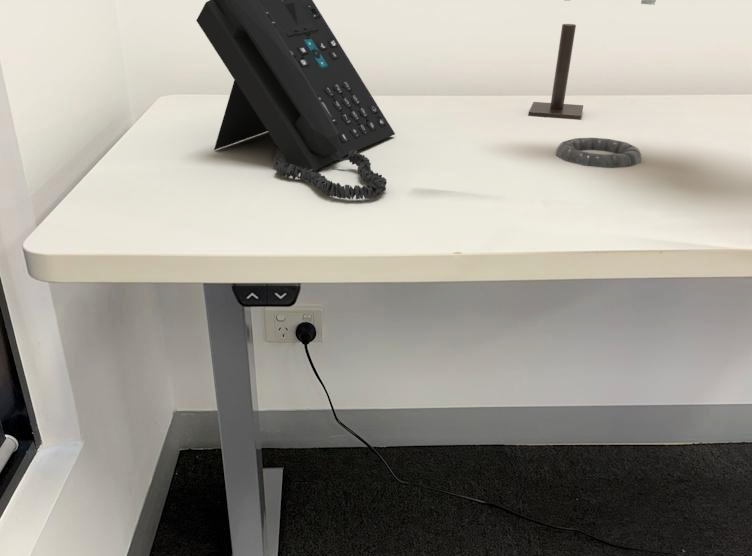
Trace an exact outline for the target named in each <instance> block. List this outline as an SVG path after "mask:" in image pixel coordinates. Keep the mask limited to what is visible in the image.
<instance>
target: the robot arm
mask: <svg viewBox="0 0 752 556" xmlns="http://www.w3.org/2000/svg"><path fill="white" fill-rule="evenodd" d="M565 1H571V0H565ZM640 4H641V5H653V6H654V5H655V4H656V0H641V1H640Z"/></svg>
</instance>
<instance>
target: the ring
mask: <svg viewBox="0 0 752 556" xmlns="http://www.w3.org/2000/svg"><path fill="white" fill-rule="evenodd" d="M588 151H600V152H607V153H608V154H607V153H596V152H595V153H594V152H588ZM554 155H555V156H556V157H557V158H559V159H561V160H562V161H564V162H567V163H571V164H574V165H575V164H576V165H580V166H582V167H583V166H584V167H592V168H601V169H602V168H603V169H615V168H616V169H617V168H629V167H633V166H635V165H638V164H641V163H642V153H641V150H640V149H639V147H636V146H634V145H633V144H630V143H628V142H626V141H621V140H616V139H612V138H602V137H578V138H575V137H574V138H571V139H567V140H564V141H562V142H561V143H559V144H558V146H557V148H556V151H555V154H554Z"/></svg>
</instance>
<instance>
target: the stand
mask: <svg viewBox="0 0 752 556" xmlns="http://www.w3.org/2000/svg"><path fill="white" fill-rule="evenodd" d="M576 28H577V24H574V23H562V25H561V31H560V37H559V43H558V44H559V45H558V51H557V58H556V66H555V72H554V79H553V87H552V91H551V92H552V93H551V100H550V102H544V101H532V104H531V106H530V108H529V111H528V114H527V117H535V118H537V117H538V118H548V119H549V118H550V119H561V120H563V119H564V120H575V121H581V120H582V115H583V110H584V105H583V104H574V103H573V104H571V103H565V99H566V93H567V92H566V91H567V87H568V86H567V85H568V78H569V74H570V73H569V72H570V66H571V60H572V55H573V54H572V53H573V47H574V40H575V34H576Z"/></svg>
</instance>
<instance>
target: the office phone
mask: <svg viewBox="0 0 752 556" xmlns="http://www.w3.org/2000/svg"><path fill="white" fill-rule="evenodd" d="M195 21H196V23H197V24H198V26H199V27H200V29H201V30H202V32H203V33H204V35H205V37H206V38H207V40H208V41H209V43H210V44H211V46H212V47H213V49H214V51H215V52H216V53H217V55H218V56H219V58H220V59H221V61H222V63H223V64H224V66H225V67H226V69H227V71H228V72H229V74H230V75H231V77H232V78H233V83H232V87H231V90H230V94H229V97H228V100H227V104H226V107H225V111H224V115H223V118H222V121H221V125H220V128H219V131H218V134H217V138H216V142H215V144H214V148H213V151H216V150H219V149H222V148H224V147H227V146H230V145H233V144H235V143H239V142H242V141H244V140H247V139H250V138H253V137H256V136H259V135H262V134H264V133H267V132H268V134H269V136H270V137H271V139H272V140H273V141H274V147H273V151H272V157H271V162H272V164H273V165H274V170H275V171H276V172H277V175H279V176H280V177H282V176H283V177H286V179H288V178H290V177H292V179H293V181H294V180H295V179H296V178H297V179H298V180H299V179H300V181H302V182H305V181H306V182H308V183H311V185H313V186H314V187H316V188H317V191H320V192H321V193H322V194H324V195H326V196H327V197H331V198H333V197H334V198H335V197H337V198H338V199H343V200H345V199H348V200H353V199H354V198H355V200H360V199H361V200H363V199H364V200H371V199H372V198H377V197H378V196H379V195H380V194H381V193H383V192H385V191H387V187H386V186H387V183H388V181H387V179H386V178H385V177H384V176H383V174H379V172H374V171H373V170H372V169H371V166H372V163H371V162H370V159H369V158H368V157H367V156H366V155H365V154H361V153H359V150H361V149H364V148H366V147H369V146H371V145H373V144H375V143H376V144H377V143H378V142H381V141H382V140H385V139H388V138H390V137H393V136H394V135H396V133H395V131H394V129H393V128H392V126H391V125H390V123H389V122H388V120H387V118H386V117H385V115H384V113H383V112H382V110H381V108H380V107H379V105H378V104H377V102H376V101H375V99H374V96H373V95H372V94H371V92H370V91H369V89H368V87H367V86H366V85H365V83H364V81H363V79H362V78H361V76H360V74H359V73H358V71H357V70H356V68H355V67H354V65H353V63H352V62H351V60H350V58H349V57H348V55H347V53H346V51H344V48H343V47H342V45H341V44H340V43H339V41H338V39H337V38H336V35H334V32H333V31H332V29H331V27H330V25H329V24H328V23H327V22H326V20H325V18H324V16H323V15H322V13H321V12H320V10H319V8H318V7H317V5H316V4H315V2H314V0H207V1H206V2H205V3H204V5H203V7H202V9H201V10H200V13H199V15H198V17H197V18H196V20H195ZM241 140H242V141H241ZM276 147H277V148H278V150H279V151H280V153H281V154H282V156H283V157H282V158H279V159H278V157H277V155H276V149H277V148H276ZM345 156H347V157H346V158H344V157H345ZM336 161H349V163H351V165H352V166H353V165H355V166H356V167H357V173H358V175H359V177H360V178H361V180H362V181H364V183H366V185H363V186H362V187H361V186H360V185H359V184H356V185H354V186H352V185H350V184H344V185H341V184H340V182H337V183H335V182H333V181H332V180H330V179H328V178H326V176H325V175H322V173H320V171H317V170H319V169H321V168H324V167H326V166H328V165H329V164H331V163H334V162H336Z"/></svg>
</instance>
